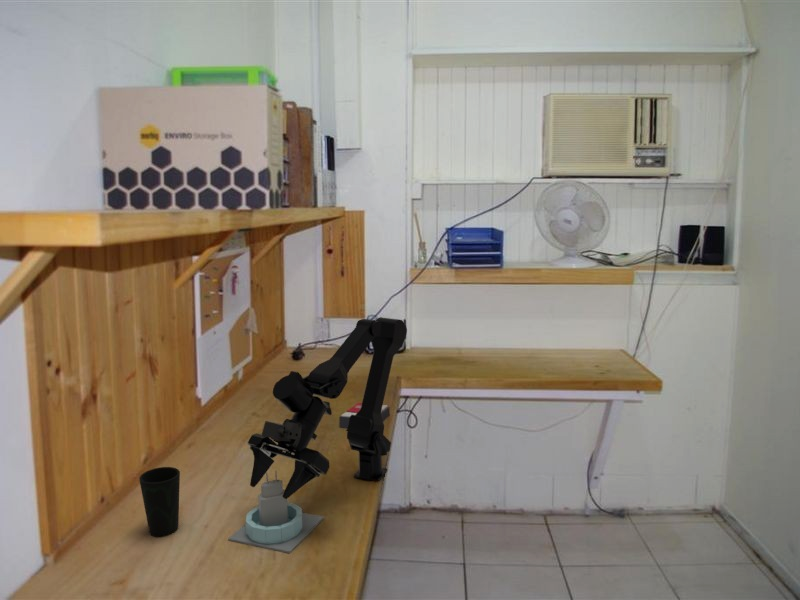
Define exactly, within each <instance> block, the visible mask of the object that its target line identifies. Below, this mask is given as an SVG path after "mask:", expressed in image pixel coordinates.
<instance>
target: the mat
mask: <svg viewBox="0 0 800 600" xmlns="http://www.w3.org/2000/svg"><path fill="white" fill-rule="evenodd" d="M324 518H325V517H324V516H321V515H315V514H311V513H305V512H302V530H301V532H300V534H299V535H297V536H296V537H295V538H293V539H291V540H289V541H286V542H283V543H279V544H260V543H256V542H254V541H252V540H250V539H249V537H248V535H247V534H246V523H245V524H244V525H242V526H241V527H240V528H238V530H237V531H235V532H234V533H233V534H231V536H229V537H228V542H234V543H238V544H243V545H249V546H251V547H252V546H253V547H258V548H262V549H267V550H272V551H276V552H280V553H281V552H282V553H286V554H291V553H292V552H294V550H296V549H297V547H298V546H299V545H300V544H301V543H302V542H303V541H304V540H305V539H306V538H307V537H308V536H309V535H310V533H312V532H313V530H314V529H316V527H317V526H318V525H319V524H321V522H322V521H324Z"/></svg>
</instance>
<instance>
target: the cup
mask: <svg viewBox="0 0 800 600" xmlns="http://www.w3.org/2000/svg"><path fill="white" fill-rule="evenodd" d="M180 478H181V473H180V470H179V469H178V468H176V467H174V466H161V467H160V466H159V467H156V468H153V469H149V470H147V471H145V472H143V473H142V474H141V475H139V485H140V490H141V495H142V500H143V506H144V511H145V516H146V521H147V526H148V532H149V533H148V534H149V535H150V536H152V537H154V538H162V537H168V536H170V535H172V533H173V534H174V533H176V532H177V531H178V530H179V519H180V518H179V517H180V516H179V515H180V482H181V479H180Z"/></svg>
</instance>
